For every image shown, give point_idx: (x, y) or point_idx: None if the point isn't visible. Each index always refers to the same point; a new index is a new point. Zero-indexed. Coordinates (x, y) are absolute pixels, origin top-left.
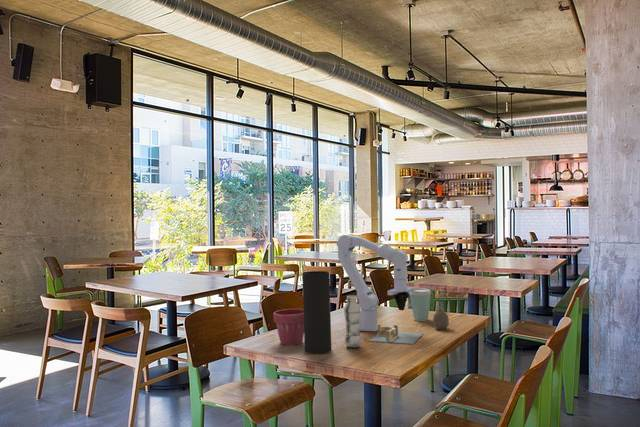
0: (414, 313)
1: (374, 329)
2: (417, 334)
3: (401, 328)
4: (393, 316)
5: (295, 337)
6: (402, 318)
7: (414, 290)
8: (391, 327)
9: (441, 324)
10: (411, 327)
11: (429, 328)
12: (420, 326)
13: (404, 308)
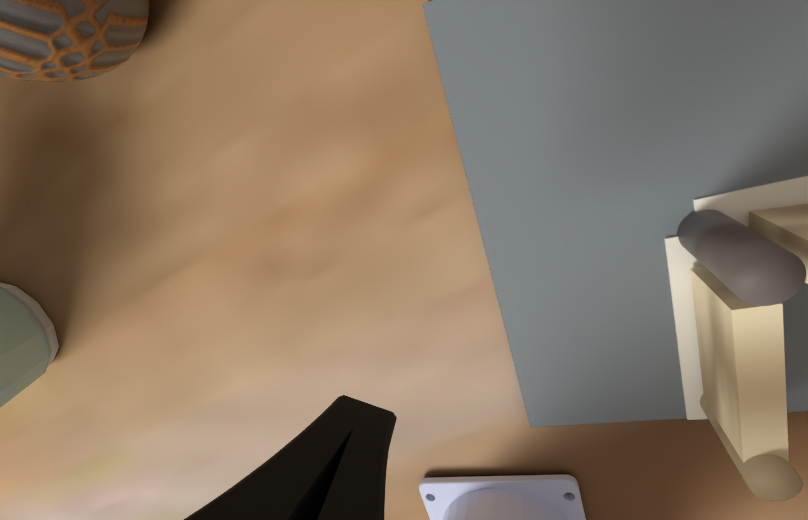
0: (9, 386)
1: (538, 496)
2: (524, 31)
3: (330, 333)
4: (88, 502)
5: None
6: (85, 442)
7: None
8: (780, 316)
9: None
10: (248, 277)
11: (174, 112)
12: (171, 227)
13: (332, 408)
